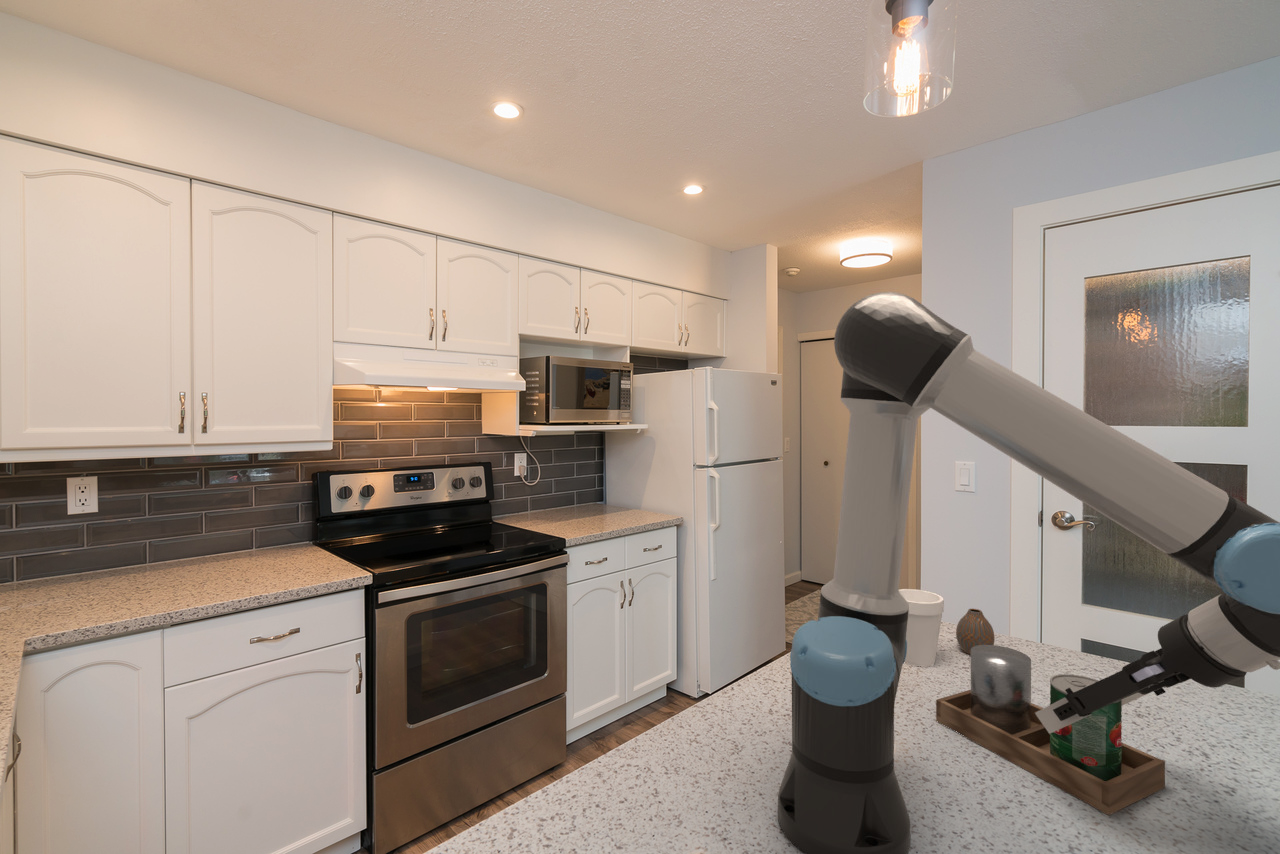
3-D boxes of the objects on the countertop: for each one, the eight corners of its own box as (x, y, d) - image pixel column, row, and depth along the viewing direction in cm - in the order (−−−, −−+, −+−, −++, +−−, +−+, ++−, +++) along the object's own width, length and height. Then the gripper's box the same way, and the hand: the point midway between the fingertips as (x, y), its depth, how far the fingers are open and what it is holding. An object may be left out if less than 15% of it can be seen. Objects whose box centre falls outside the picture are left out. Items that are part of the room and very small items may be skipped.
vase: (964, 643, 126) (964, 602, 126) (999, 653, 121) (1000, 610, 120) (950, 651, 121) (950, 609, 121) (986, 662, 116) (986, 618, 116)
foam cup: (932, 651, 122) (932, 589, 121) (951, 671, 112) (951, 604, 112) (885, 650, 122) (885, 588, 122) (900, 669, 113) (900, 602, 113)
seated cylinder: (1029, 745, 85) (1030, 670, 85) (967, 728, 90) (967, 657, 90) (1031, 721, 92) (1032, 652, 92) (973, 707, 97) (973, 641, 96)
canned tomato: (1137, 784, 76) (1138, 701, 76) (1075, 784, 76) (1076, 701, 76) (1092, 749, 84) (1092, 674, 84) (1036, 749, 84) (1036, 673, 84)
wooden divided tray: (1164, 787, 77) (1165, 761, 77) (1108, 815, 72) (1109, 787, 72) (988, 704, 99) (988, 684, 99) (936, 721, 94) (936, 699, 94)
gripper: (1189, 697, 60) (1037, 763, 74) (1298, 654, 70) (1146, 719, 84) (1128, 629, 65) (996, 703, 79) (1239, 598, 75) (1105, 668, 89)
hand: (1074, 711), depth 81 cm, fingers open, 13 cm apart
